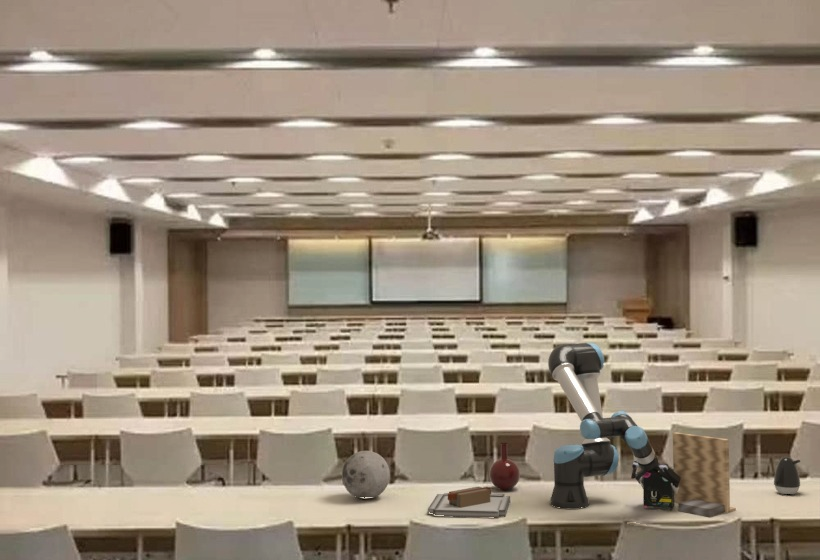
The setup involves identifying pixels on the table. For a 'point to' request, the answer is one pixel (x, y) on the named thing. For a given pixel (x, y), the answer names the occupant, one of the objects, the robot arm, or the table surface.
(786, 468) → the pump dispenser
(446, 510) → the grey tray with block
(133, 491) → the table surface
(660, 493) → the tampon box
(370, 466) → the moon model
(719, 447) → the board
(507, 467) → the round-bottom flask
